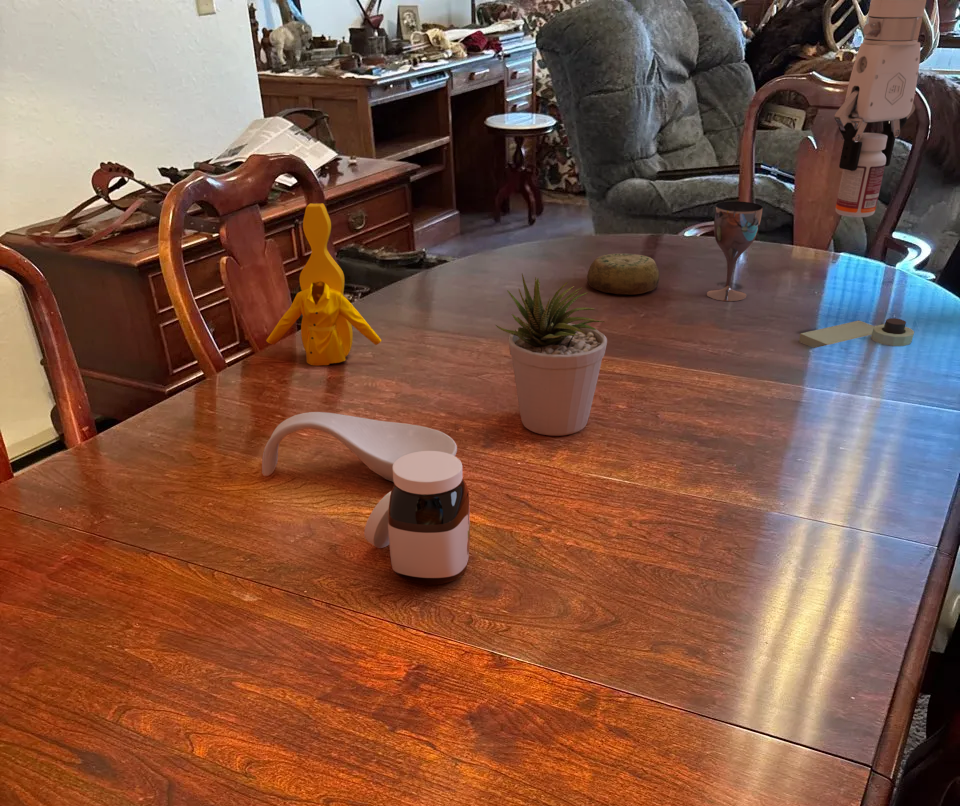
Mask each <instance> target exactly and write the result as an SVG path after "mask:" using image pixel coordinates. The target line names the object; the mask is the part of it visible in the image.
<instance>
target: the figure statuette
mask: <svg viewBox="0 0 960 806" xmlns="http://www.w3.org/2000/svg"><path fill="white" fill-rule="evenodd" d="M302 229H303V233H304V236H305V238H306V240H307V242H308V244H309V246H310V249H311V254H310V256H309V258H308V260H307V262H306V263H305V265H304V266H303V268H302V270H301V272H300V273H299V279H298V280H299V286H300V290H301V291H298V292H297V293H296V295H295V297H294V299H293V301H292V303H291V304H290V307H289V308H288V309H287V310H286V311H285V312H284V313H283V315H282V316H281V318H280V319H279V321H278V322H277V324H275V326H274V328H273V330H272V331H271V332H270V334H269V336H268V337H267V338H266V339H265V341H266V342H267V343H268V344H270V345H273V346H275V345H276V344H277V343H279V341H280V340H281V339H282V338H283V337H284V336H285V335H286V334H287V332H289V330H290V329H291V328H292V327H293V326H294V324H295V323H296V322H297V321H298V319H299V318H300V317H301V316H302V318H301V323H300V337H301V342H302V346H303V349H304V351H305V356H306V363H307V364H308V365H310V366H316V367H317V366H330V364H339V363H342V362H345V361H346V360H347V359H346V357H348V355H349V354H350V351H351V349H352V346H353V342H354V341H353V338H354V331H353V328H355V329H356V331H358V332H359V333H360V334H361V335H362V336H364V337H365V338H366V339H367V340H368V341H370V342H371V343H372V344H374V345H375V346H377V345H379V344H381V342H382V341H383V340H382V339H381V337H380V336H379V334H377V332H376V331H375V330H374V328H373V327H372V326H371V325H370V324H369V323H368V322H367V320H366V319H365V318H364V317H363V316H362V314H361V313H360V312H359V311H358V310H357V309H356V308H355V305H353V304H352V303H351V302H350V300H348V298H347V297H346V296H345V294H344V291H345V282H346V281H345V274H344V271H343V270H342V268H341V266H340V265H339V264H338V263H337V262H336V260H335V259H334V258H333V256H332V255H331V254H330V252H329V250H328V242H329V239H330V236H331V231H332V221H331V218H330V215H329V213H328V211H327V208H326V206H325V204H324V203H322V202H321V203H309V204H308V205H306V207H305V210H304V215H303V220H302Z"/></svg>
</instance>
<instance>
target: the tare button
mask: <svg viewBox="0 0 960 806" xmlns="http://www.w3.org/2000/svg"><path fill="white" fill-rule="evenodd" d="M884 324H885V325H884V329H883V331H884V332H887V333H891V334H903V333H904V329H905V327H906V325H907V322H906V320H904V319H901V318H896V317H895V318H894V317H892V318H887V319H885V321H884Z"/></svg>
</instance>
